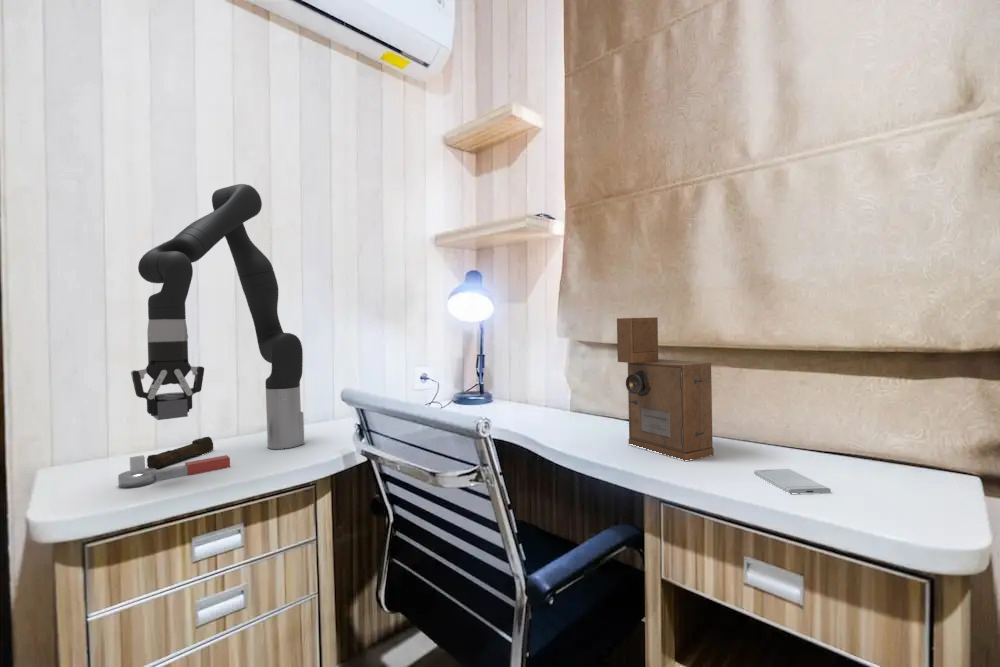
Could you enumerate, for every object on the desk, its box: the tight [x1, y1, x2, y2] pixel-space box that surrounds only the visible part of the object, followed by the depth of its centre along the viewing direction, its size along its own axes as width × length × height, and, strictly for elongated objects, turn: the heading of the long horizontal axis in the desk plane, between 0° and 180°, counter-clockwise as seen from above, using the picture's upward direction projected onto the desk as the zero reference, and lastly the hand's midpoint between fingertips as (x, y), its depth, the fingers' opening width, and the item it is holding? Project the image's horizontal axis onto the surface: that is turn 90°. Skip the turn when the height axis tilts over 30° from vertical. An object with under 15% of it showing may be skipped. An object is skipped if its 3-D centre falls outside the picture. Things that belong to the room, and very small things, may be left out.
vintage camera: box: [616, 317, 715, 461], centre depth 127 cm, size 19×14×35 cm
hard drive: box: [753, 468, 832, 495], centre depth 100 cm, size 2×8×12 cm
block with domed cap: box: [153, 391, 189, 421], centre depth 111 cm, size 6×6×5 cm
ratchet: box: [117, 454, 231, 490], centre depth 116 cm, size 22×7×6 cm, turn 132°
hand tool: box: [146, 436, 214, 470], centre depth 131 cm, size 19×4×5 cm, turn 164°
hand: (170, 413), depth 111 cm, fingers closed on block with domed cap, 5 cm apart
